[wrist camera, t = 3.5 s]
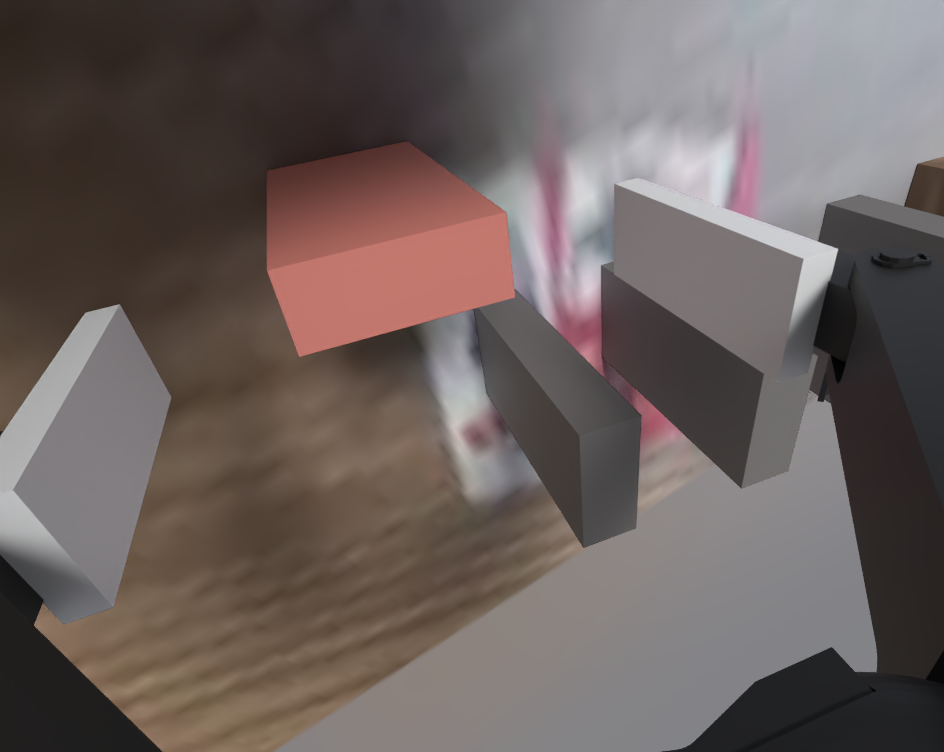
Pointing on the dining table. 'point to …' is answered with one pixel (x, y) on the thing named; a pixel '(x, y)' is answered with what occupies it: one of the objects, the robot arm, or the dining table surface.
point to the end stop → (928, 188)
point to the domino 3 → (881, 227)
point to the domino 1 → (562, 418)
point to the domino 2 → (702, 385)
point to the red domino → (380, 245)
